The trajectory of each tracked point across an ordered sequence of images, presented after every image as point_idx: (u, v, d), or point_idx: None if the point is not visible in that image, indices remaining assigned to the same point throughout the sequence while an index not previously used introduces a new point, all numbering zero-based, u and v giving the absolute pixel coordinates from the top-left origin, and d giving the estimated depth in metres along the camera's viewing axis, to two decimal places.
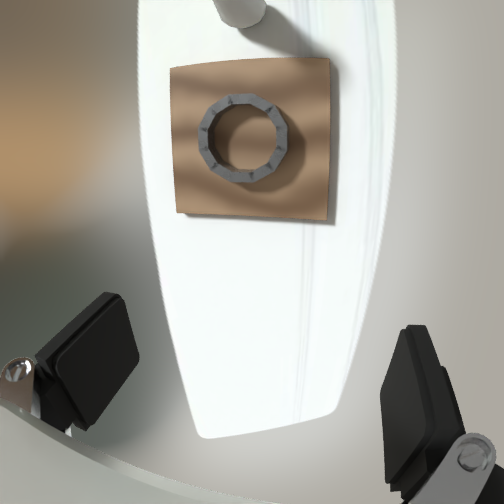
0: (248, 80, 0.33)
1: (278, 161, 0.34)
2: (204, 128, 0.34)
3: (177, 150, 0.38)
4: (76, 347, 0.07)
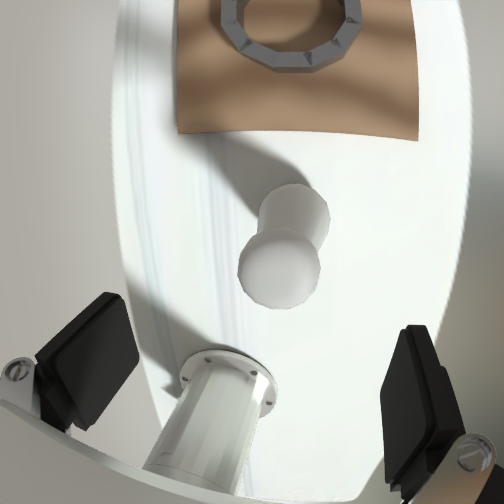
0: (290, 95, 0.22)
1: None
2: (351, 21, 0.16)
3: (404, 12, 0.17)
4: (76, 347, 0.07)
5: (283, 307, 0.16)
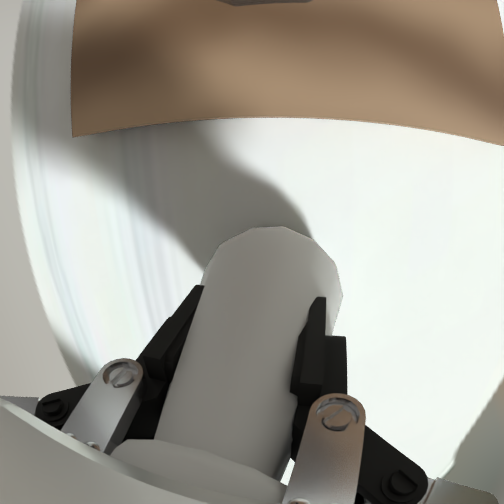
0: (261, 45, 0.10)
1: None
2: None
3: None
4: None
5: None
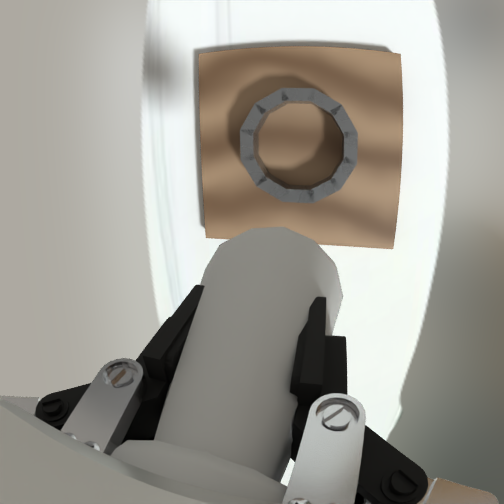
0: (295, 215, 0.31)
1: (250, 115, 0.26)
2: (347, 161, 0.25)
3: (395, 136, 0.26)
4: None
5: None
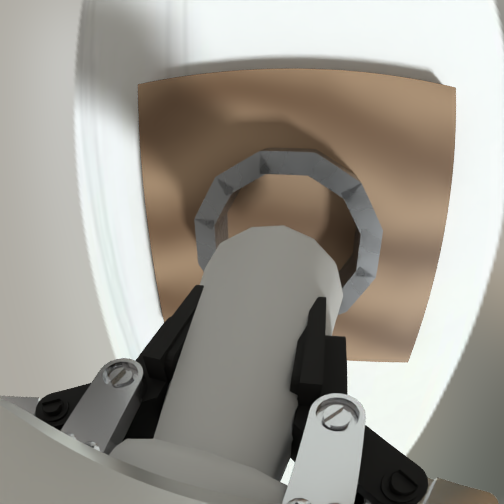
0: None
1: (208, 197, 0.17)
2: (361, 274, 0.16)
3: (436, 222, 0.17)
4: None
5: None
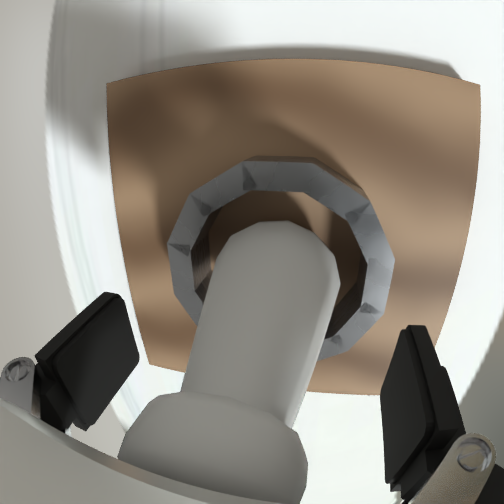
0: None
1: (182, 218, 0.14)
2: (367, 310, 0.13)
3: (454, 245, 0.14)
4: (76, 347, 0.07)
5: None
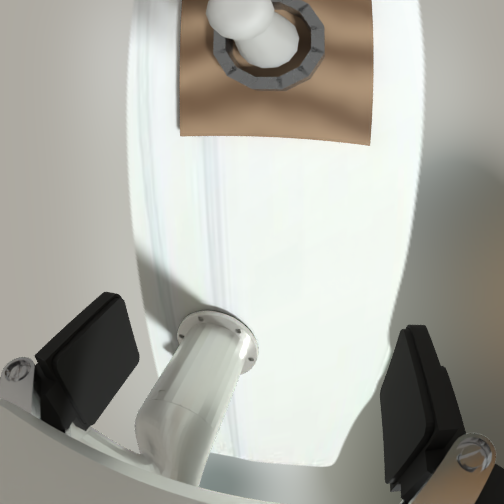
0: (267, 109, 0.28)
1: None
2: (315, 51, 0.23)
3: (366, 36, 0.23)
4: (76, 347, 0.07)
5: (241, 28, 0.15)
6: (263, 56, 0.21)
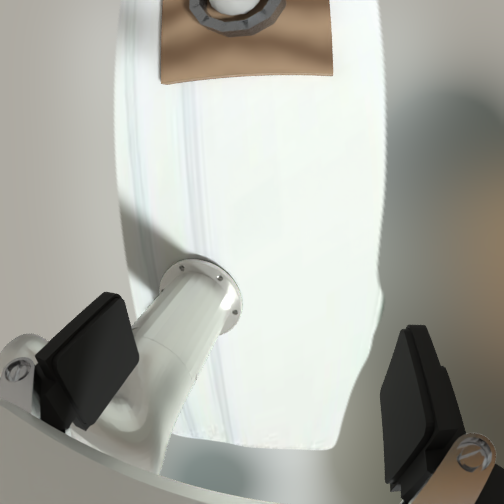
0: (237, 51, 0.29)
1: None
2: None
3: None
4: (76, 347, 0.07)
5: None
6: None
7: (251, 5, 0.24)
